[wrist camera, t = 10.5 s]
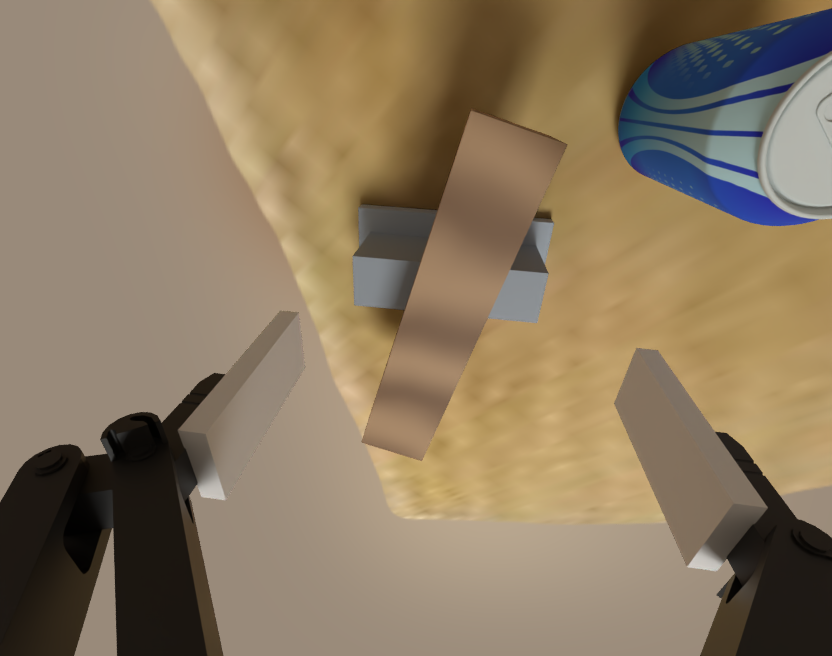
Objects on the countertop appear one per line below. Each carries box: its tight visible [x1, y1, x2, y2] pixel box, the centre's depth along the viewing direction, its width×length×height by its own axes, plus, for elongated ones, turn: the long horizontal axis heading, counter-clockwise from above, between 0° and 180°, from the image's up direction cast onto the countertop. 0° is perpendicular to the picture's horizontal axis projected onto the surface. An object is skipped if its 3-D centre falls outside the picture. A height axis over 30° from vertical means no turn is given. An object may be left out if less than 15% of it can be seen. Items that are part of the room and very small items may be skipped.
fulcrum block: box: [353, 204, 554, 323], centre depth 33 cm, size 8×16×7 cm, turn 87°
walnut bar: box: [362, 108, 567, 461], centre depth 28 cm, size 24×5×5 cm, turn 163°
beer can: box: [618, 9, 832, 226], centre depth 22 cm, size 8×8×16 cm
